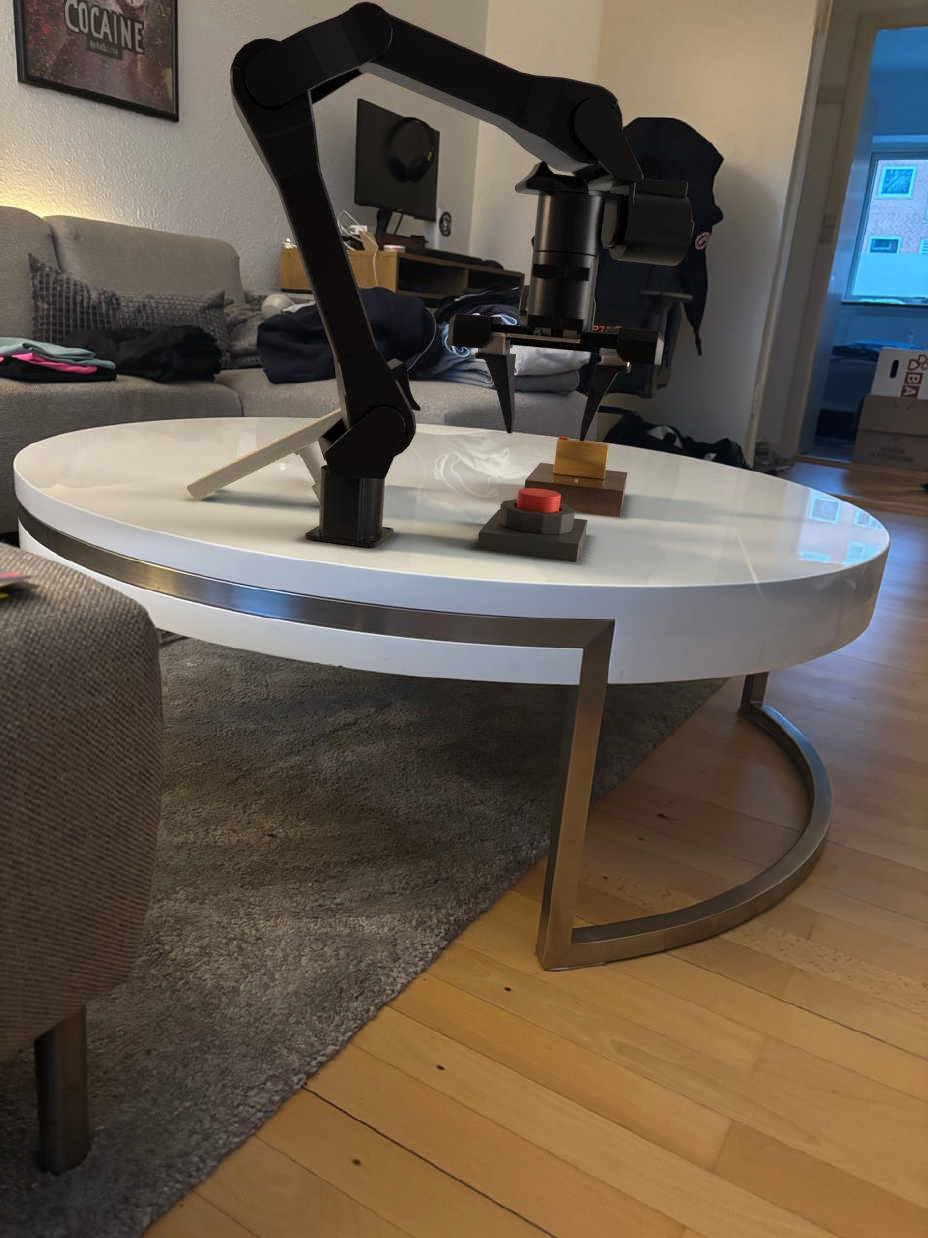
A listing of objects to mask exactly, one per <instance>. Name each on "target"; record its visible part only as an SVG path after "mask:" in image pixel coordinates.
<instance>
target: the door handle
mask: <svg viewBox="0 0 928 1238" xmlns="http://www.w3.org/2000/svg"><path fill="white" fill-rule="evenodd" d="M341 417H342V414H341V408H340V407H339V408H337V409H336V410H333V411H332V412H330V413H327V414H324V415H323V416H321V417H319V418H317V419H315V420H314V421H311V422H309V423H306V424H305V425H304V426H301V427H299V428H297V429H295V430H293V431H291V432H288V433H287V434H285V435H283V436H281V437H279V438H277V439H275V440H273V441H271V442H269V443H267V444H265V445H263V446H260V447H258V448H257V449H255V450H252V451H251V452H248V453H247V454H245V455H242V456H240V457H239V458H236V459H235V460H232V461H230V462H229V463H226V464H224V465H222V466H220V467H218V468H216V469H214V470H211V471H210V472H208V473H206V474H205V475H203V476H201V477H199V478H198V479H196V480H194V481H193V482H191V483H189V484H187V485H186V490H187V491H188V493H189V494H190V495H191V497H192V498H193V499H194V500H199V499H202V498H204V497H205V496H208V495H210V494H212V493H214V492H216V491H218V490H220V489H223V488H224V487H226V486H228V485H230V484H232V483H234V482H237V481H239V480H241V479H243V478H245V477H247V476H249V475H251V474H253V473H255V472H258V471H259V470H261V469H263V468H265V467H267V466H270V465H271V464H274V463H276V462H277V461H280V460H281V459H284V458H286V457H288V456H289V455H292V454H295V456H298V455H299V456H300V458H301V459H302V460H303V462H304V465H305V467H306V468H307V470H308V472H309V474H310V475H311V478H312V479H313V481H314V484H313V485H312V486H311V489H312V491H313V493H314V495H315V496H316V499H317V500H318V502H319V503H320V479H321V467H322V466H324V465H327V463H326V461H325V460H324V458H323V455H322V452H321V449H320V446H319V443H318V438H319V437H320V436H321V435H322V434H323V433H324V432H326V431H327V430H328V429H329V428H330V427H331V426H332V425H333V424H335V423H336V422H337V421H338V420H339V419H340V418H341Z"/></svg>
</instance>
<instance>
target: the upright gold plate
mask: <svg viewBox="0 0 928 1238" xmlns="http://www.w3.org/2000/svg"><path fill="white" fill-rule="evenodd" d="M609 448H610V443H608V442H601V441H600V442H599V441H591V440H590V441H589V440H584V442H582V441H580V439H573V438H570V437H569V436H564V435H563V436H562V435H560V436H559V437H558V438H556V445H555V455H554V463H553V464H554V472H553V473H554V474H563V475H572V476H580V477H589V478H597V479H604V478H605V473H606V470H607V465H608V464H607V463H608V456H609Z"/></svg>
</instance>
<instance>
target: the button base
mask: <svg viewBox="0 0 928 1238" xmlns="http://www.w3.org/2000/svg"><path fill="white" fill-rule="evenodd" d="M575 515H576V512H575V509H573V508H571V507H569V506H567V505H564V504H560V506H559V511H558V512H537V511H528V510H524V509H520V508H517V498H514V499H506V500H503V501H502V502H501V503H500V506H499V508H498V510H497V511H496V512H494V514H493V515H492V516H491V517H490V519H488V521H487V522H485V524H484V525H483V527H481V529H480V530H479V531H478V537H477V538H478V539H477V548H476V549H477V550H480V551H487V552H496V553H501V554H511V555H518V556H525V557H532V558H533V557H534V558H541V559H548V560H549V559H550V560H555V561H556V560H557V561H564V562H571V563H572V562H573V563H577V562H578V559H579V556H580V553H581V550H582V548H583V545H584V541H585V539H586V535H587V529H588V528H587V526H588V519H583V518H575Z"/></svg>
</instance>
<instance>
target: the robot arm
mask: <svg viewBox="0 0 928 1238" xmlns="http://www.w3.org/2000/svg"><path fill="white" fill-rule="evenodd" d="M364 74H369V75H373V76H375V77H377V78H380V79H382V80H385V81H387V82H390V83H392V84H394V85H396V86H398V87H401V88H403V89H406V90H408V91H411V92H413V93H416V94H418V95H421V96H423V97H425V98H427V99H430V100H432V101H435V102H437V103H440V104H442V105H445V106H447V107H449V108H451V109H454V110H456V111H459V112H461V113H464V114H466V115H468V116H470V117H473V118H475V119H477V120H480V121H482V122H485V123H488V124H490V125H492V126H494V127H497V128H498V129H499V130H501V131H502V132H504V133H505V134H507V135H508V136H509V137H510V138H511V139H512V140H514V141H515V143H517V144H518V145H519V146H520V147H521V148H522V149H523V150H525V151H526V152H527V153H529V154H530V155H532V156H534V158H536V159H538V160H540V162H538V163H536V164H534V165H533V167H532V168H531V170H530V172H529V173H528V174H527V175H526V176H525V177H524V178H523V179H522V180H520V181H519V182H517V183H516V184H515V185H514V191H515V192H516V193H517V194H520V195H522V194H523V195H529V196H530V195H531V196H538V197H537V206H536V207H537V208H536V218H535V228H534V236H533V237H534V238H533V247H532V255H531V256H532V257H531V267H530V275H529V276H530V277H529V284H523V285H522V289H521V294H520V299H519V304H518V318H519V322H520V324H522V325H518V324H517V325H516V324H506V323H503V317H502V316H493V315H482V314H480V315H479V314H471V313H459V312H458V313H457V312H456V313H454V315H453V316H452V317H451V318H450V320H449V322H448V325H447V326H448V327H447V338H446V339H447V340H446V346H450V347H457V348H458V347H459V348H460V347H461V348H469V349H470V348H471V349H477V352H476V351H475V352H474V359H475V360H483V361H484V362H485V364H486V367H487V370H488V372H489V376H490V377H491V379H492V383H493V385H494V388H495V391H496V394H497V397H498V403H499V406H500V411H501V415H502V418H503V422H504V426H505V431H506V433H507V434H509V435H511V434H513V433H514V425H515V419H516V417H515V416H516V404H515V403H516V393H515V392H516V391H515V390H516V387H515V385H516V384H515V383H516V382H515V371H516V363H517V362H516V360H517V353H512V352H511V349H513V347H514V346H517V347H518V346H519V347H529V348H539V349H550V350H560V351H561V350H562V351H571V352H582V353H593V354H599V355H598V356H599V358H601V361H598V362H597V363H595V366H594V369H593V370H594V371H593V374H592V377H591V383H590V386H589V390H588V396H587V399H586V403H585V407H584V412H583V416H582V420H581V425H580V432H579V440H580V441H582V442H584V441H586V438H587V436H588V434H589V431H590V429H591V426H592V425H593V422H594V420H595V417H596V415H597V412H598V410H599V408H600V407H601V404H602V401H603V399H604V398H605V395H606V394H607V392H608V391H609V389H610V387H611V385H612V384H613V382H614V380H615V379H616V378H617V377H616V376H617V375H618V374H620V373H621V374H629V373H630V372H631V369H632V365H631V364H641V365H642V364H643V365H652V366H661V365H662V358H663V351H664V345H665V337H664V335H663V334H662V333H661V332H660V330H655V329H654V330H653V329H644V328H643V329H642V328H633V327H631V328H630V327H619V328H618V333H606V332H599V331H598V332H597V331H594V325H595V316H596V307H597V304H596V299H595V294H596V293H595V292H596V286H597V285H596V284H597V276H598V268H599V267H598V266H599V259H600V258H599V257H600V251H601V244H602V248H603V249H608V252H609V255H610V257H611V259H613V260H615V261H621V262H622V261H623V262H630V263H631V262H633V263H641V264H651V265H661V266H672V267H676V266H677V265H679V264H681V262H682V261H683V260H684V258H685V256H686V255H687V253H688V250H689V248H690V245H691V241H692V239H693V233H694V228H695V221H694V220H693V211H692V210H693V209H692V204H691V201H690V199H689V198H688V196H687V194H688V186H689V182H687V181H686V180H681V179H680V180H679V179H670V180H660V179H652V178H644V173H643V171H642V168H641V166H640V164H639V161H638V160H637V158H636V155H635V154H634V151H633V149H632V147H631V145H630V143H629V140H628V139H627V136H626V134H625V132H624V131H623V130H624V120H623V119H624V118H623V112H622V110H621V106H620V104H619V99H618V97H617V96H615V94H614V93H613V92H612V91H611V90H609V89H607V88H606V87H604V86H602V85H601V84H600V85H598V84H596V83H591V82H586V81H582V80H578V79H573V78H569V77H563V76H551V75H537V74H532V73H527V72H523V71H520V70H517V69H515V68H513V67H511V66H508V65H506V64H504V63H502V62H499V61H497V60H496V59H492V58H490V57H488V56H486V55H485V54H481V53H479V52H477V51H474V50H472V49H470V48H467V47H466V46H464V45H461V44H459V43H456V42H455V41H452V40H449V39H447V38H446V37H443V36H442V35H441V36H440V35H438V34H436V33H434V32H431V31H429V30H427V29H425V28H423V27H420V26H418V25H416V24H413V23H412V22H409V21H406V20H405V19H403V18H400V17H398V16H396V15H393V14H391V13H389V12H388V11H386V10H385V9H384V8H383V7H382V6H381V5H379V4H377V3H374V2H371V1H362V2H357V3H355V4H354V5H352V6H351V7H349V8H348V10H346V11H344V12H341V13H340V14H339V15H336V16H333V17H331V18H328V19H326V20H323V21H320V22H318V23H314V24H312V25H310V26H307V27H304V28H302V29H300V30H298V31H297V32H295V33H292V34H291V35H289V36H287V37H285V38H283V39H281V40H278V39H273V38H269V37H263V38H254V39H252V40H251V41H249V42H247V43H245V44H244V45H242V47H241V48H240V49H239V50H238V51H237V52H236V54H235V55H234V58H233V60H232V63H231V65H230V69H229V87H230V94H231V100H232V105H233V110H234V113H235V114H236V117H237V119H238V120H239V123H240V124H241V126H242V128H243V130H244V132H245V134H246V136H247V138H248V139H249V141H250V143H251V145H252V147H253V149H254V151H255V153H256V154H257V156H258V158H259V159H260V162H261V163H262V165H263V166H264V168H265V170H266V172H267V174H268V175H269V176H270V179H271V181H272V182H273V185H274V186H275V188H276V190H277V193H278V196H279V199H280V202H281V205H282V209H283V211H284V214H285V217H286V220H287V222H288V223H287V224H288V226H289V228H290V231H291V235H292V238H293V241H294V244H295V246H296V249H297V252H298V255H299V258H300V261H301V264H302V267H303V270H304V273H305V276H306V278H307V281H308V285H309V287H310V290H311V293H312V296H313V299H314V302H315V305H316V309H317V311H318V315H319V317H320V320H321V323H322V326H323V329H324V331H325V335H326V337H327V340H328V343H329V346H330V349H331V352H332V356H333V364H334V371H335V379H336V387H337V388H336V389H337V395H338V401H339V408H341V414H342V417H341V418H340V419H339V420H338V421H337V422H336V423H335V424H333V425H332V426H331V427H330V428H329V429H328V430H327V431H326V432H324V433H323V434H322V435H321V436H320V437H319V438H318V443H319V446H320V449H321V452H322V455H323V458H324V460H325V461H326V463H327V465H324V466H322V467H321V479H320V502H319V511H318V512H319V514H318V525H317V526H315V527H314V528H312V529H310V530H309V531H307V532H305V535H304V538H305V539H306V540H311V541H318V542H325V543H331V544H332V543H333V544H341V545H348V546H349V545H350V546H354V547H355V546H356V547H363V548H376V547H378V546H379V545H381V544H382V543H383V542H385V541H386V540H387V539H389V538H390V537H391V536H393V534H394V528H393V527H388V526H383V523H384V521H383V520H384V505H385V504H384V503H385V486H386V477H387V475H388V473H389V471H390V469H391V466H392V463H393V461H394V459H395V457H397V456H399V455H401V454H403V453H404V452H405V451H406V450H407V449H408V448H409V447H410V445H411V444H412V441H413V439H414V437H415V435H416V433H417V420H416V415H415V413H414V411H415V412H420V411H421V410H422V407H421V406H420V404H418V402H417V401H416V400H415V398H414V396H413V393H412V390H411V385H410V378H409V377H410V376H409V372H408V366H407V364H406V363H405V362H403V361H401V360H399V359H397V358H392V359H390V360H389V361H387V360H386V358H385V356H384V355H383V353H382V351H381V349H380V348H379V346H378V344H377V342H376V341H377V340H376V338H375V335H374V332H373V329H372V326H371V323H370V320H369V317H368V313H367V310H366V307H365V304H364V301H363V298H362V295H361V291H360V288H359V286H358V282H357V279H356V276H355V273H354V270H353V266H352V264H351V260H350V257H349V254H348V251H347V248H346V245H345V241H344V238H343V236H342V232H341V229H340V226H339V222H338V220H337V217H336V213H335V210H334V207H333V205H332V204H333V203H332V201H331V198H330V196H329V192H328V189H327V185H326V181H325V179H324V175H323V173H322V169H321V168H322V167H321V163H320V162H321V161H320V154H319V144H318V136H317V128H316V117H315V113H314V105H315V104H317V103H319V102H321V101H323V99H325V98H327V97H328V96H330V95H332V94H333V93H335V92H336V91H338V90H340V89H341V88H342V87H345V86H346V85H348V84H349V83H351V82H352V81H354V80H355V79H358V78H359V77H361V76H363V75H364ZM551 168H552V169H554V170H555V171H557V172H562V173H566V174H560V173H555V172H554V171H553V170H552V169H551ZM567 173H569V174H567ZM570 174H571V175H570ZM608 191H609V192H608ZM535 331H536V332H537V331H538V333H537V334H535Z"/></svg>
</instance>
